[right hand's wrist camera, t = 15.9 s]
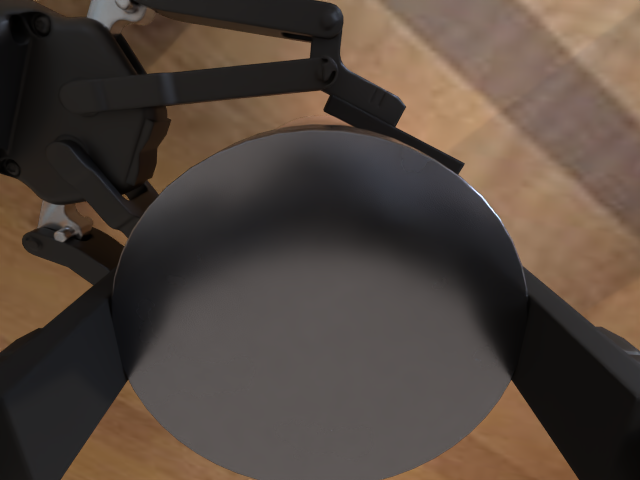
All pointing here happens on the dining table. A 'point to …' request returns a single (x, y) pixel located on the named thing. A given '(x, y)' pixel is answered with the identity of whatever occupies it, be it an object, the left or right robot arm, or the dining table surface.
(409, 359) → the lid
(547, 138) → the dining table surface
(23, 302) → the dining table surface
